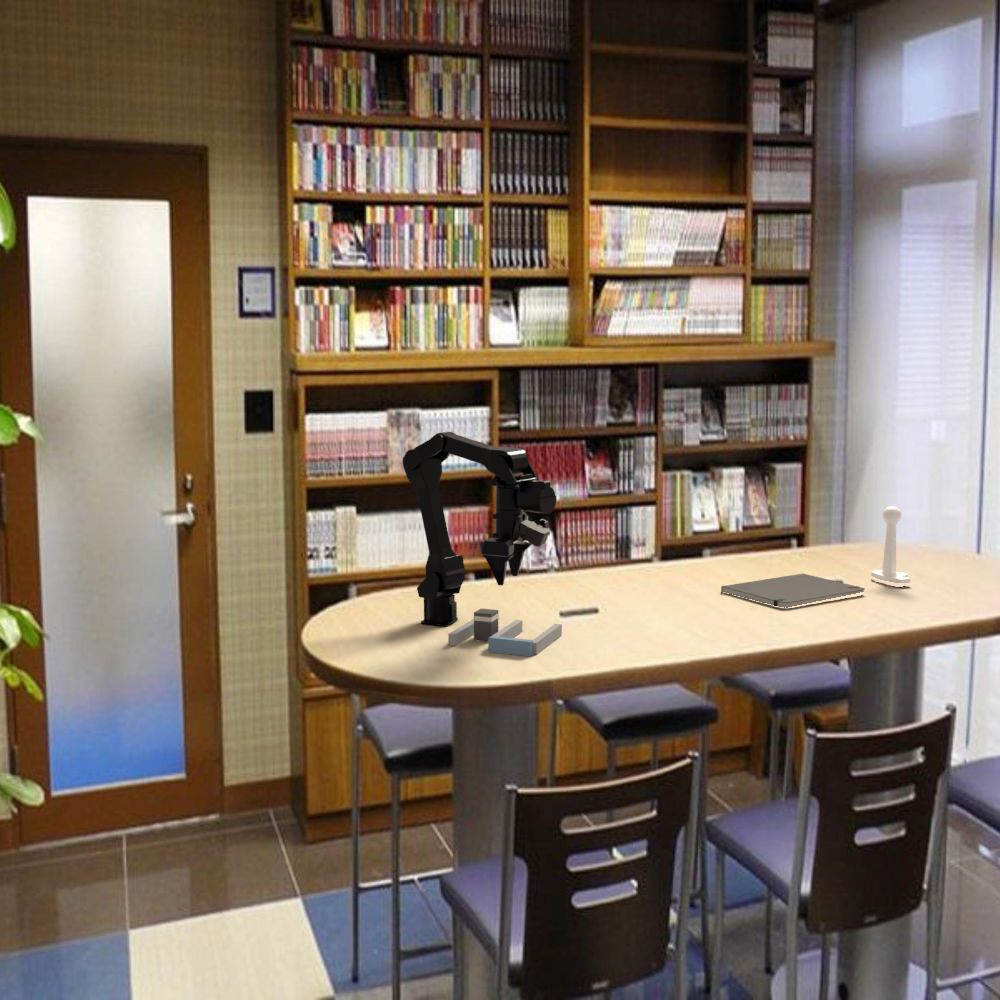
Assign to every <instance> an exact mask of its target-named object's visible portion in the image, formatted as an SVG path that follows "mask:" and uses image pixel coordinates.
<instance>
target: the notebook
mask: <svg viewBox="0 0 1000 1000" xmlns="http://www.w3.org/2000/svg"><path fill="white" fill-rule="evenodd" d="M720 587H721V588H720V589H721V592H726V593H729V594H733V595H736V596H740V597H744V598H747V599H752V600H755V601H759V602H762V603H767V604H771V605H774V606H779V607H784V608H785V607H786V608H788V607H792V606H797V605H802V604H807V603H812V602H816V601H822V600H826V599H831V598H836V597H841V596H846V595H851V594H856V593H860V592H865V591H866V588H865V587H863V586H862V587H861V586H857V585H852V584H848V583H844V582H841V581H840V582H839V581H837V580H836V581H835V580H831V579H827V578H823V577H819V576H815V575H810V574H806V573H798V574H792V575H784V576H777V577H772V578H765V579H759V580H753V581H747V582H741V583H740V582H739V583H733V584H727V585H722V586H720ZM721 592H720V593H721ZM729 594H728V595H729ZM736 596H735V597H736ZM740 597H739V598H740ZM747 599H746V600H747Z"/></svg>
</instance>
